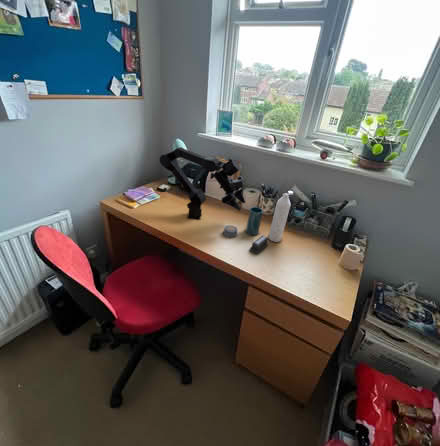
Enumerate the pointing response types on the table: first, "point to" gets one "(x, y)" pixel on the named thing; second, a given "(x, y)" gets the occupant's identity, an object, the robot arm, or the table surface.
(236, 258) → the table surface
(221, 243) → the table surface
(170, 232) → the table surface
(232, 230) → the tape roll
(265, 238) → the stapler
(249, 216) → the pen pot
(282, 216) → the water bottle
